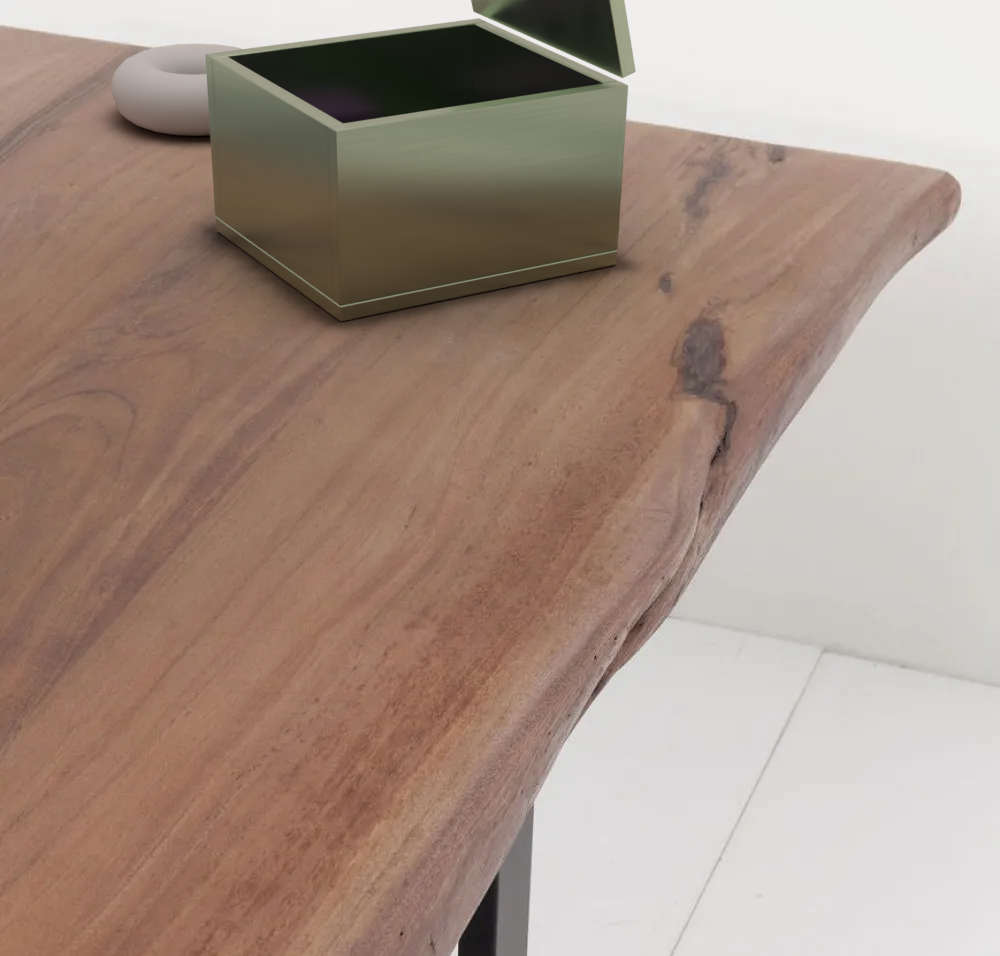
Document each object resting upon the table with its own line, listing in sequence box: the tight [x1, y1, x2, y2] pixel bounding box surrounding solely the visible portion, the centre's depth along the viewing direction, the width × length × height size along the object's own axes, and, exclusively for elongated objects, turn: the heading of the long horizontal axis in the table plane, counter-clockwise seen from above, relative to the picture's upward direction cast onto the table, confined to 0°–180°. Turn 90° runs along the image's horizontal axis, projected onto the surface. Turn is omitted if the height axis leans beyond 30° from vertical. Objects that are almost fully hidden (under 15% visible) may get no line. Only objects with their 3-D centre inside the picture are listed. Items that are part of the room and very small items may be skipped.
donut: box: [110, 43, 242, 137], centre depth 111 cm, size 10×4×10 cm
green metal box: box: [205, 17, 629, 322], centre depth 93 cm, size 16×14×9 cm
